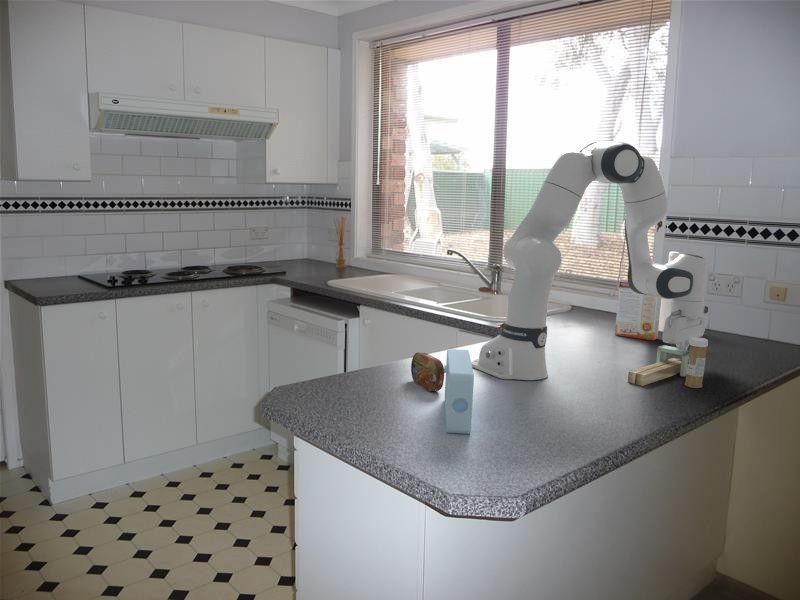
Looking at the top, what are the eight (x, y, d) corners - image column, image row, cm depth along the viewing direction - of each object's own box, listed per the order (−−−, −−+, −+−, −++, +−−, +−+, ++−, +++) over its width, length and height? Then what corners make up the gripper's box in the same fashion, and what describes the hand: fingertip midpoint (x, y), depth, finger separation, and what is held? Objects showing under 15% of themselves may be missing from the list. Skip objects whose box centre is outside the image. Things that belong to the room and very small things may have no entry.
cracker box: (657, 338, 248) (664, 281, 245) (654, 341, 243) (660, 282, 240) (618, 332, 256) (624, 276, 252) (614, 335, 250) (619, 278, 247)
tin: (409, 379, 185) (410, 348, 183) (420, 378, 186) (421, 348, 185) (434, 396, 171) (435, 363, 170) (445, 395, 172) (447, 362, 171)
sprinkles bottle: (681, 383, 191) (686, 336, 189) (697, 383, 192) (702, 336, 189) (689, 388, 187) (695, 340, 184) (705, 388, 187) (711, 340, 185)
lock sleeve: (655, 369, 205) (657, 346, 203) (661, 367, 207) (664, 345, 206) (683, 376, 198) (685, 352, 197) (689, 374, 201) (692, 351, 200)
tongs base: (627, 382, 190) (628, 371, 190) (673, 367, 209) (674, 357, 208) (637, 384, 188) (638, 374, 188) (682, 369, 206) (683, 359, 206)
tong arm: (636, 384, 189) (637, 373, 188) (677, 370, 205) (678, 360, 205) (643, 385, 187) (644, 375, 187) (684, 371, 204) (685, 361, 203)
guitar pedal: (441, 400, 168) (443, 347, 166) (464, 401, 168) (468, 348, 166) (442, 435, 146) (446, 374, 143) (470, 436, 145) (474, 375, 143)
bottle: (656, 331, 260) (664, 252, 255) (653, 327, 267) (661, 250, 262) (678, 333, 258) (687, 253, 253) (675, 329, 266) (684, 251, 261)
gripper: (680, 314, 193) (675, 361, 196) (712, 307, 207) (706, 351, 210) (659, 310, 198) (654, 357, 200) (691, 303, 212) (686, 347, 214)
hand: (681, 354), depth 205 cm, fingers closed
